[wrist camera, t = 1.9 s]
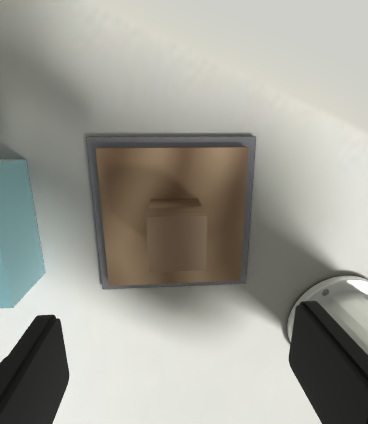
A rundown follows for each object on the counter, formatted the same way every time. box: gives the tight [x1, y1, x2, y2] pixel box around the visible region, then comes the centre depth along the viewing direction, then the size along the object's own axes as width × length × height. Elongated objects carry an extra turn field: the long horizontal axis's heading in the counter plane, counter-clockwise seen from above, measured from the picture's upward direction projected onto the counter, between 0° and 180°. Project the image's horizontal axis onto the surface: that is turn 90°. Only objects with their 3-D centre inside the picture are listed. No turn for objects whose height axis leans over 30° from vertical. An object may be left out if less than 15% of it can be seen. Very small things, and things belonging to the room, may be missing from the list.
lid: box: [96, 147, 249, 286], centre depth 23 cm, size 14×14×7 cm
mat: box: [86, 136, 256, 289], centre depth 26 cm, size 16×16×1 cm
